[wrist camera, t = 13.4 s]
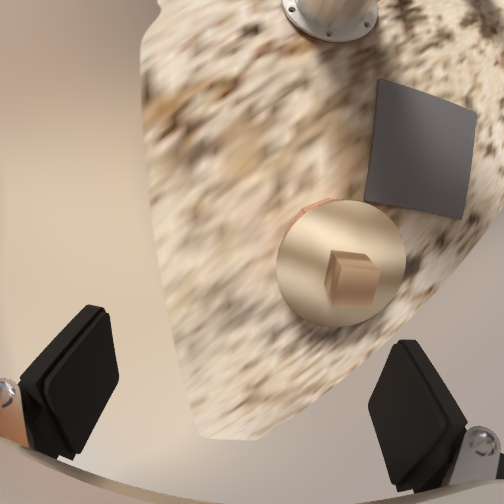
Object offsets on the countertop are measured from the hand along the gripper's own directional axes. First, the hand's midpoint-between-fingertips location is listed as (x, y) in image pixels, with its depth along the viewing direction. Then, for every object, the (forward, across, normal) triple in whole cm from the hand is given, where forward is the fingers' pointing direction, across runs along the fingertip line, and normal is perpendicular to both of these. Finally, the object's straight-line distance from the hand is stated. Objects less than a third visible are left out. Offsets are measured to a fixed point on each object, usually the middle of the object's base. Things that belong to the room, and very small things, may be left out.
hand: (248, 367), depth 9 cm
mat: (+30, -21, -10) cm, 38 cm away
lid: (+24, -10, +5) cm, 27 cm away
